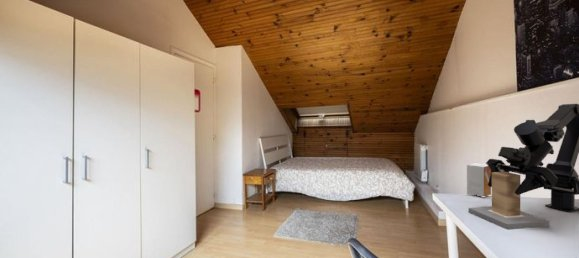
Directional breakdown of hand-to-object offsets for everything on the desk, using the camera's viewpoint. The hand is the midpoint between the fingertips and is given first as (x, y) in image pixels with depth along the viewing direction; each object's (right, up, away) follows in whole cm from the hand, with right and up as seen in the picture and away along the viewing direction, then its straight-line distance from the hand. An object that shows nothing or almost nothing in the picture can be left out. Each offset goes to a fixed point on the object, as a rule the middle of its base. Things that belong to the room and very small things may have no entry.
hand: (501, 189), depth 81 cm
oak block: (+2, -8, 0) cm, 8 cm away
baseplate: (+2, -10, 0) cm, 10 cm away
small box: (+12, -9, +26) cm, 30 cm away
